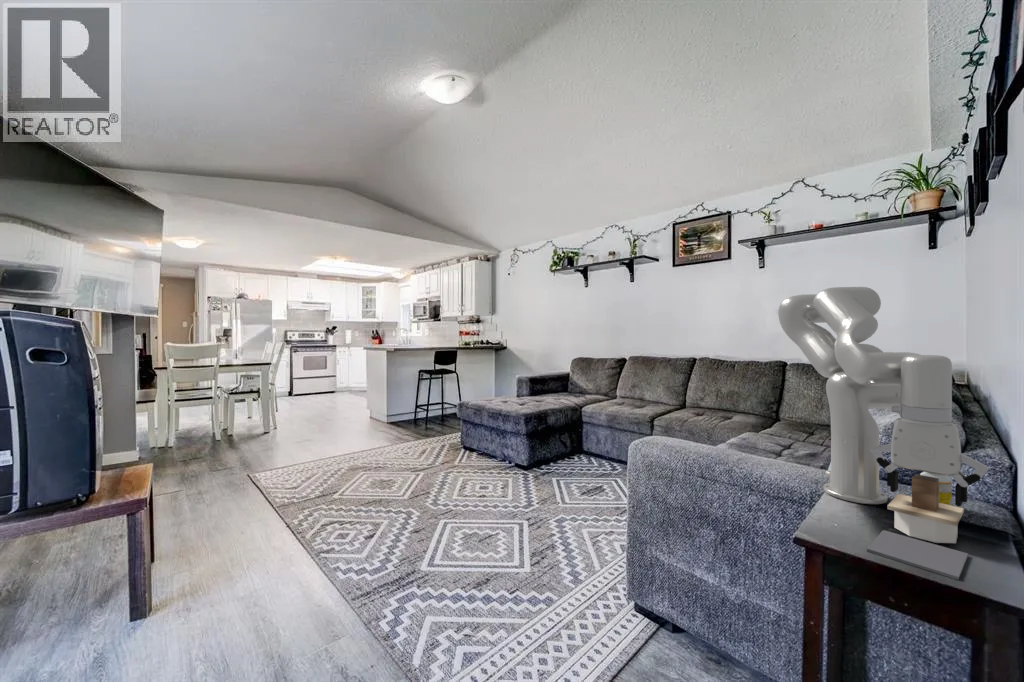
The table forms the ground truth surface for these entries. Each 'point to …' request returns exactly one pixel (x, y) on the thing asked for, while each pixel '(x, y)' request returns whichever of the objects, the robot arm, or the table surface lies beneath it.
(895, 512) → the bowl
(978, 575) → the table surface
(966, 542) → the table surface
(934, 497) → the lid
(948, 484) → the supplement bottle
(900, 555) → the mat
